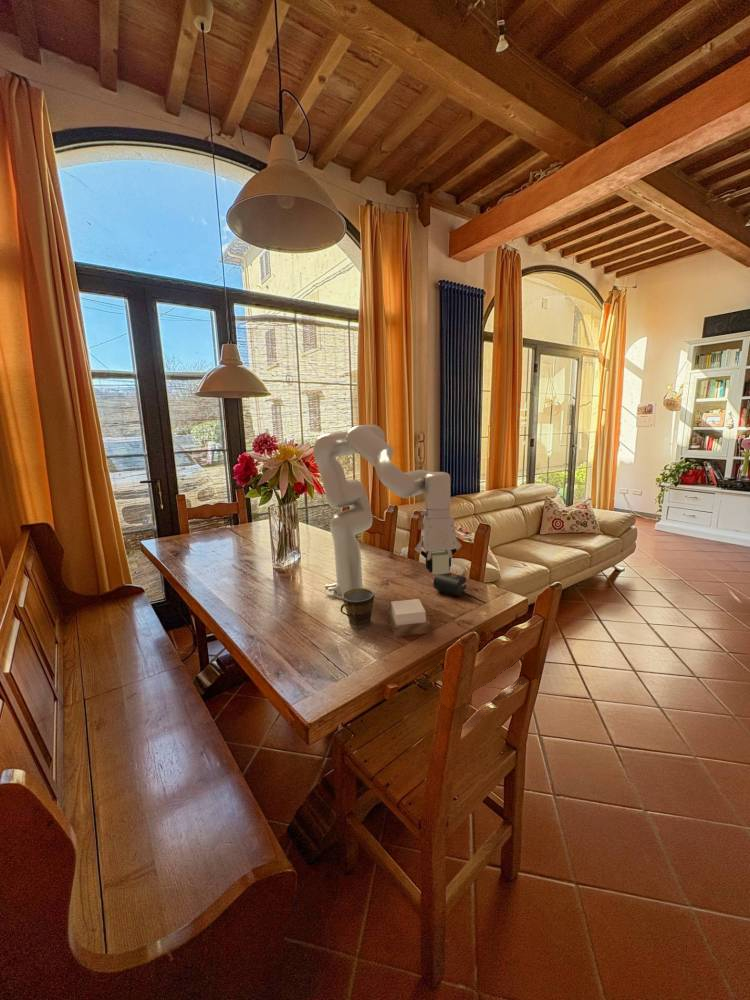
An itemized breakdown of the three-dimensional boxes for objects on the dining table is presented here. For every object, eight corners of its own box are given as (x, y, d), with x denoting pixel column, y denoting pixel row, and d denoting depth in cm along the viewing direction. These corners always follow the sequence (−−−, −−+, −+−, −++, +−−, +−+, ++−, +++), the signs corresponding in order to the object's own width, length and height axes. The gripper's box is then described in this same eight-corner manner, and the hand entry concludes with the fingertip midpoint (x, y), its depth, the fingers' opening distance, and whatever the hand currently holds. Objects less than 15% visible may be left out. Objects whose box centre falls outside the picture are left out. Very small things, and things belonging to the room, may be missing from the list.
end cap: (433, 593, 149) (432, 575, 148) (443, 586, 154) (443, 570, 153) (457, 600, 142) (456, 582, 141) (467, 593, 148) (467, 575, 146)
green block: (433, 574, 123) (433, 556, 122) (428, 568, 128) (428, 550, 127) (449, 573, 124) (448, 554, 123) (443, 567, 129) (443, 549, 127)
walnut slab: (395, 638, 120) (394, 627, 120) (389, 620, 131) (388, 610, 130) (431, 634, 122) (430, 623, 121) (422, 616, 132) (421, 607, 132)
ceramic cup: (358, 613, 136) (356, 585, 134) (381, 621, 130) (380, 592, 128) (331, 629, 126) (328, 599, 124) (354, 639, 120) (352, 608, 118)
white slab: (396, 625, 121) (395, 614, 120) (391, 611, 130) (391, 601, 129) (425, 622, 122) (425, 611, 121) (419, 608, 131) (418, 598, 130)
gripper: (413, 518, 117) (415, 577, 121) (469, 513, 120) (469, 571, 124) (407, 512, 125) (408, 568, 128) (460, 508, 127) (460, 563, 131)
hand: (438, 569), depth 126 cm, fingers closed on green block, 5 cm apart
